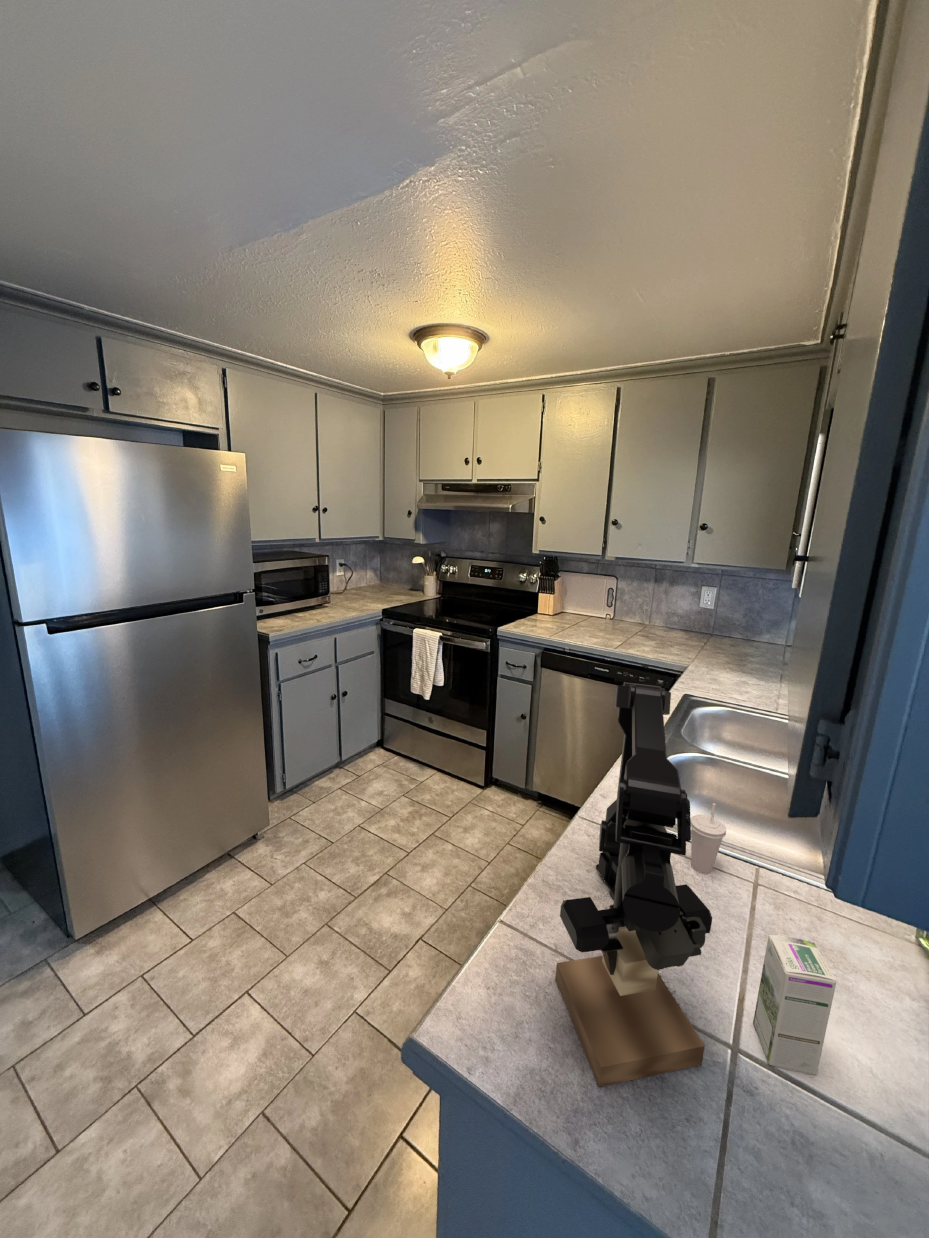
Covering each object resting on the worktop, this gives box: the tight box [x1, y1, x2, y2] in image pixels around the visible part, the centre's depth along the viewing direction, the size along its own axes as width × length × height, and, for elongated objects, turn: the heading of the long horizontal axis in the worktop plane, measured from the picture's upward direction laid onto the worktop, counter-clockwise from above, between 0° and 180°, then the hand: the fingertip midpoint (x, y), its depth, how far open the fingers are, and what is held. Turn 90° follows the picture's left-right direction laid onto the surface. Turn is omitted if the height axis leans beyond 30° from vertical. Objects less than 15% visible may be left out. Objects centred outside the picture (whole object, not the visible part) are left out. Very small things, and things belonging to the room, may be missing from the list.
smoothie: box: [690, 802, 727, 875], centre depth 95 cm, size 6×6×14 cm
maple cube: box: [602, 928, 659, 996], centre depth 65 cm, size 5×5×5 cm
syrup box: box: [752, 934, 837, 1076], centre depth 62 cm, size 6×6×14 cm
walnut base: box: [554, 955, 706, 1088], centre depth 66 cm, size 14×14×3 cm
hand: (628, 968), depth 65 cm, fingers closed on maple cube, 5 cm apart
